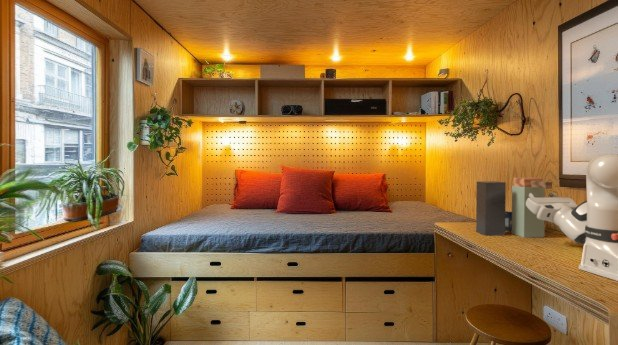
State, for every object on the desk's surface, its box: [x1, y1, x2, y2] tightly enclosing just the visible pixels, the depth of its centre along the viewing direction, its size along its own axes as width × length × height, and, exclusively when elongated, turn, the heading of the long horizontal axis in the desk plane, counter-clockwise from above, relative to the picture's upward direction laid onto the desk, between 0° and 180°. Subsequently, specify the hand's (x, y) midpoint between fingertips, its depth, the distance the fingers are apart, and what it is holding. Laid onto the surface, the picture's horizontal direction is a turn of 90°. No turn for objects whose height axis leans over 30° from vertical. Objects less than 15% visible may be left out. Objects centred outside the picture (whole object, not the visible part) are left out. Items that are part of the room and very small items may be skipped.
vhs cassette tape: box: [505, 210, 512, 233], centre depth 186 cm, size 18×3×10 cm, turn 45°
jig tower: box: [475, 180, 507, 237], centre depth 177 cm, size 8×10×26 cm
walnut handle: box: [513, 177, 553, 190], centre depth 167 cm, size 18×9×4 cm, turn 3°
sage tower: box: [511, 185, 546, 239], centre depth 172 cm, size 10×10×24 cm
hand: (540, 194), depth 162 cm, fingers open, 8 cm apart
